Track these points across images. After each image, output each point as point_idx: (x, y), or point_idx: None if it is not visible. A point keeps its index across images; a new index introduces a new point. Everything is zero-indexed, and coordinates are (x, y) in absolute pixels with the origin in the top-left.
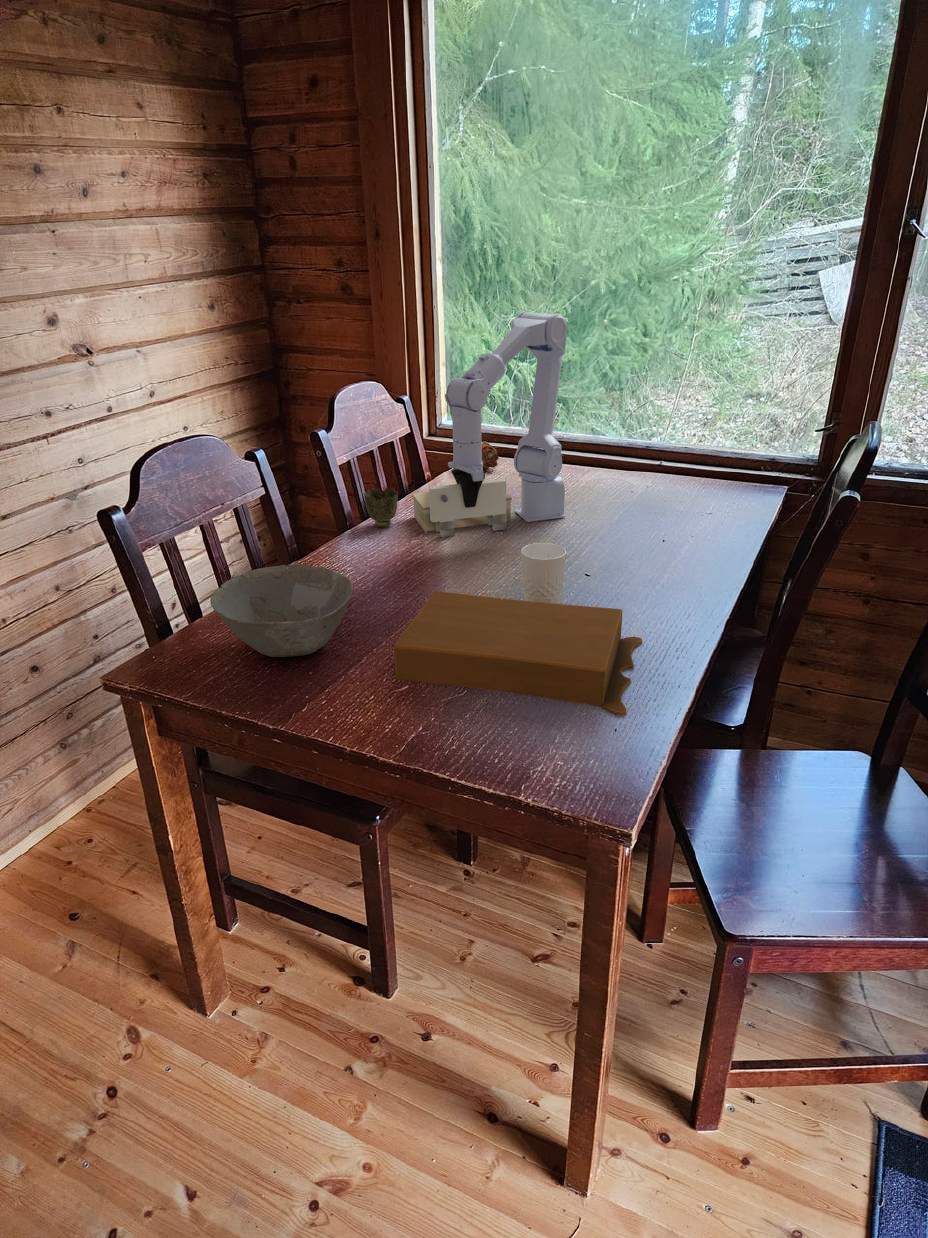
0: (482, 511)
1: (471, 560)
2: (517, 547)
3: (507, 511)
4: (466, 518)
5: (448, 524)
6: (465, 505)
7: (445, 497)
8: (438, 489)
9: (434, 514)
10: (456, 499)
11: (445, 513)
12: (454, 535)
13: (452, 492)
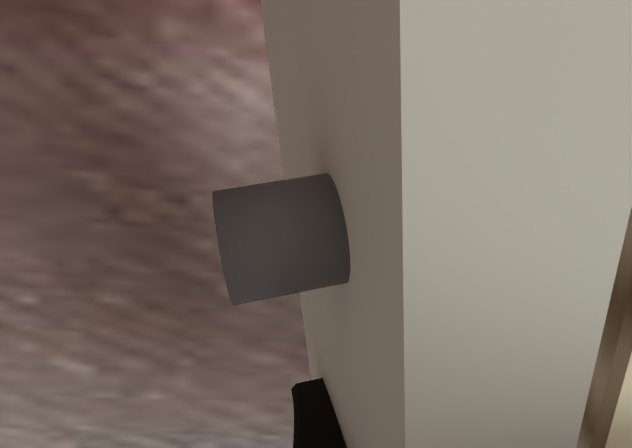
0: None
1: (46, 215)
2: (214, 423)
3: None
4: None
5: None
6: (293, 399)
7: (229, 275)
8: (392, 211)
9: (274, 20)
10: (339, 370)
11: (291, 162)
12: None
13: (363, 417)
